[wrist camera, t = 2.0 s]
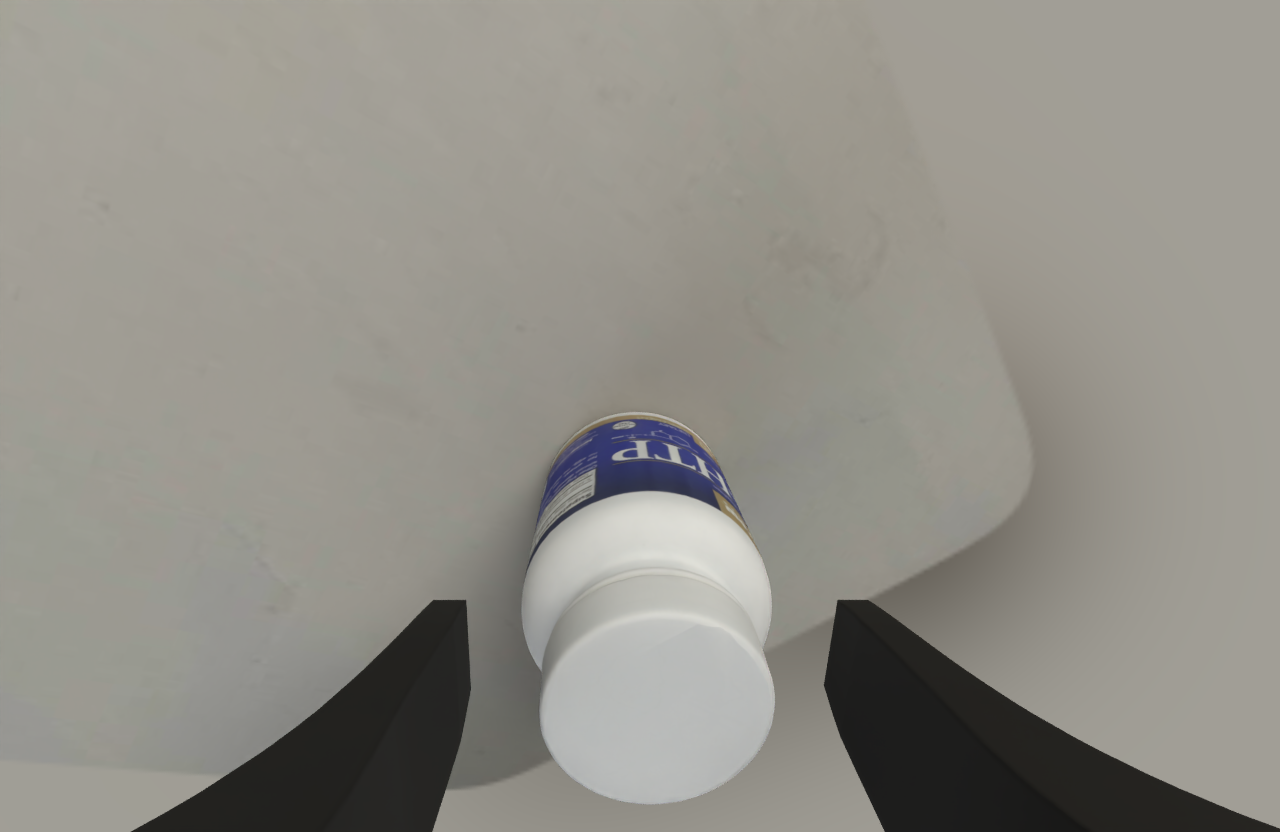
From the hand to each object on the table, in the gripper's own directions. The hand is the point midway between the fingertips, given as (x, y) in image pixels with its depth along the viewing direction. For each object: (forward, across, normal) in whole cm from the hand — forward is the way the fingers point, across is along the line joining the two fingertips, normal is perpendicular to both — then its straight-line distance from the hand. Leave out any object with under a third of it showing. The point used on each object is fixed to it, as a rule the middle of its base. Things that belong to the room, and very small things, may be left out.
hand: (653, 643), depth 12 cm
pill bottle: (+7, 0, 0) cm, 7 cm away
